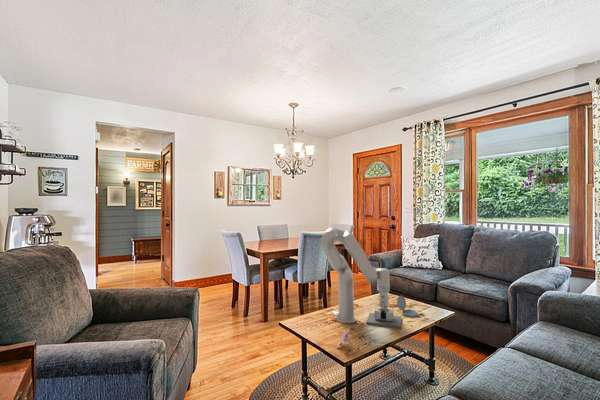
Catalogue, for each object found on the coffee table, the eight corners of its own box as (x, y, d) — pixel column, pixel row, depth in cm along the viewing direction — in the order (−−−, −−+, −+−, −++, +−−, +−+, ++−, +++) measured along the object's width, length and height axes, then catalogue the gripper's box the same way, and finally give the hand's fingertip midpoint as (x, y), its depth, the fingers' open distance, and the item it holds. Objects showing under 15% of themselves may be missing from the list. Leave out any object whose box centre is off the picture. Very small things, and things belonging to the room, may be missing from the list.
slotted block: (374, 318, 181) (374, 310, 181) (375, 314, 188) (375, 307, 188) (392, 321, 177) (392, 313, 177) (393, 317, 184) (393, 309, 184)
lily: (347, 340, 160) (338, 325, 160) (364, 338, 152) (354, 322, 152) (337, 356, 151) (327, 340, 151) (353, 355, 143) (343, 337, 143)
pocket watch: (403, 294, 203) (424, 299, 191) (403, 309, 202) (424, 315, 191) (395, 297, 196) (415, 302, 185) (395, 313, 196) (416, 319, 184)
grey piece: (366, 324, 178) (366, 314, 179) (369, 314, 193) (369, 305, 194) (400, 328, 171) (400, 318, 171) (401, 318, 186) (401, 309, 186)
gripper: (388, 292, 173) (389, 322, 173) (390, 285, 189) (391, 312, 189) (375, 291, 176) (376, 321, 176) (378, 284, 192) (379, 311, 192)
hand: (384, 316), depth 182 cm, fingers closed on slotted block, 6 cm apart
